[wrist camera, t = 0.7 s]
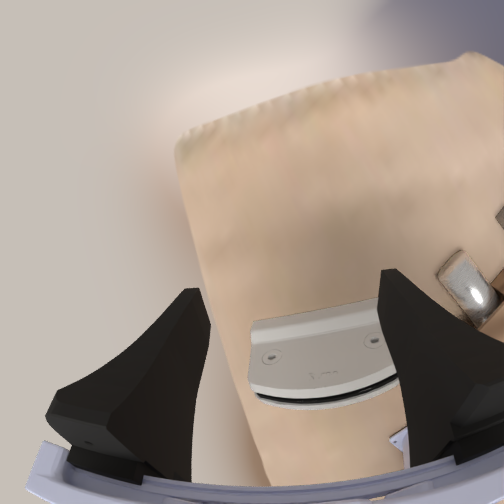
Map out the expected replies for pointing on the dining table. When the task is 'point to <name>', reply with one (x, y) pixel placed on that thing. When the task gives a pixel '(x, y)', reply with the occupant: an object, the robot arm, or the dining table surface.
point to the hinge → (321, 358)
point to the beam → (496, 312)
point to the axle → (469, 287)
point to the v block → (501, 217)
